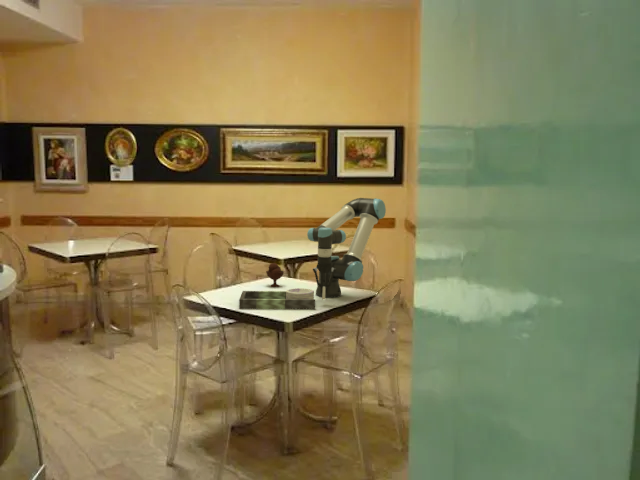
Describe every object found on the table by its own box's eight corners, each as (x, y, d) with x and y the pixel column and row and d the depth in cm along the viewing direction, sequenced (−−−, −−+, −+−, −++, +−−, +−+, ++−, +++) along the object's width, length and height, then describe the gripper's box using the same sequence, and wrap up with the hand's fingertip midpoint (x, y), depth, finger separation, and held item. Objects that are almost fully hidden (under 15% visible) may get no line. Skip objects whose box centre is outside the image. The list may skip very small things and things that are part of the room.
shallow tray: (313, 300, 326) (313, 291, 325) (315, 309, 304) (315, 300, 304) (242, 299, 324) (242, 290, 323) (239, 308, 302) (239, 299, 302)
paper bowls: (295, 300, 325) (295, 286, 324) (318, 303, 317) (319, 289, 316) (280, 305, 312) (280, 291, 311) (304, 309, 304) (304, 294, 303)
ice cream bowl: (283, 288, 358) (283, 264, 356) (265, 287, 358) (265, 263, 356) (284, 284, 369) (284, 261, 367) (266, 284, 369) (267, 261, 367)
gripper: (312, 256, 308) (312, 300, 311) (337, 257, 309) (336, 300, 312) (312, 254, 316) (311, 297, 318) (336, 255, 316) (334, 297, 319)
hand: (323, 298), depth 315 cm, fingers closed
